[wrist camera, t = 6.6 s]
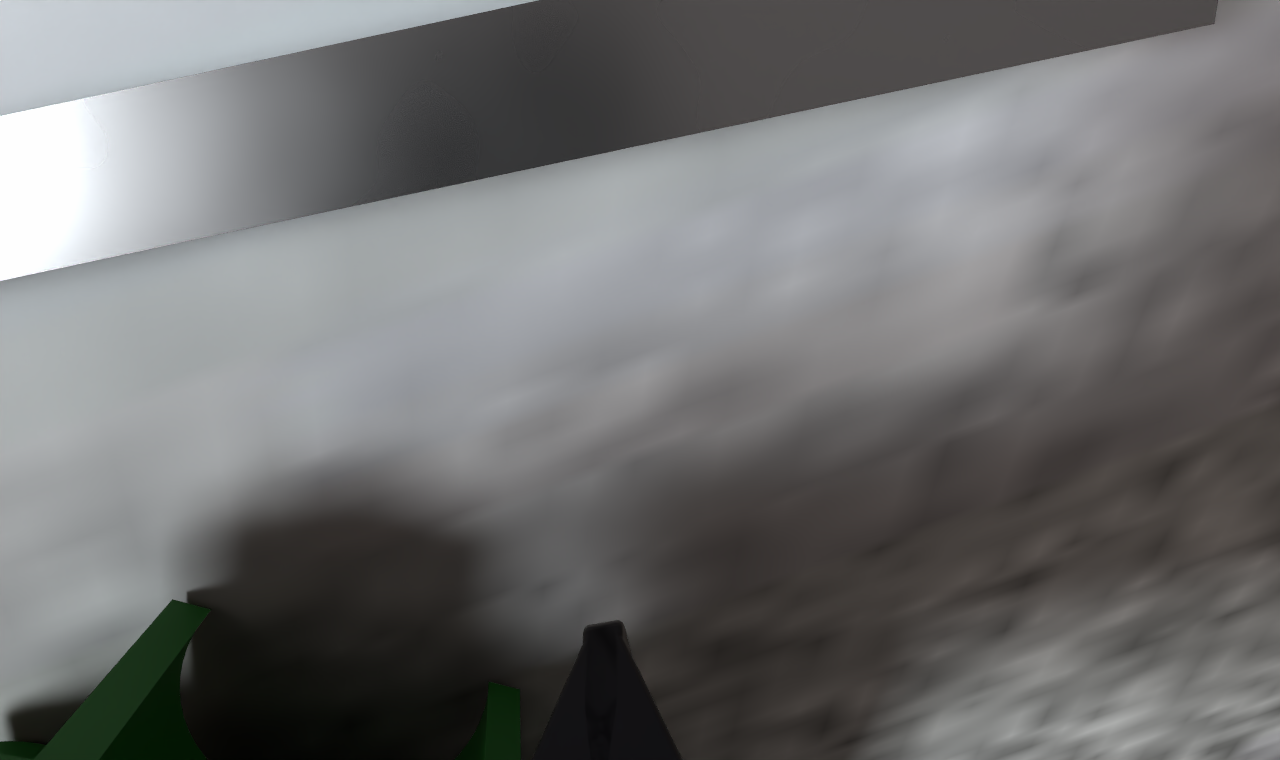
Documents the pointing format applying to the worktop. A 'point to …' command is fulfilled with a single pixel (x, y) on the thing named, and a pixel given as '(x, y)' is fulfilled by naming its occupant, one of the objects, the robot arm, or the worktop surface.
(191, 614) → the clamp
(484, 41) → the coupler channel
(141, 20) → the worktop surface
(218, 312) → the worktop surface
